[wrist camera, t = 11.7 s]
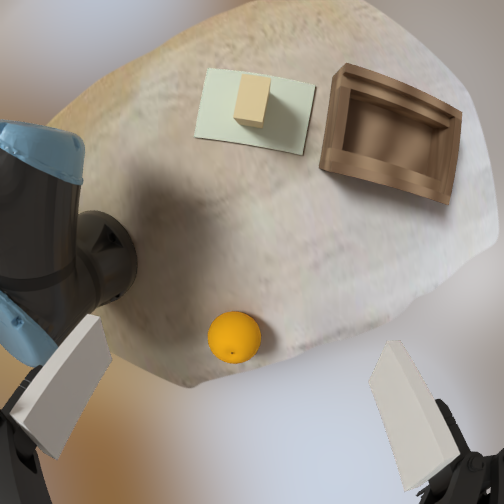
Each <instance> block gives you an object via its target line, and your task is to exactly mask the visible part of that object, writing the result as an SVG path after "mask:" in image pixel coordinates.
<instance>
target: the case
mask: <svg viewBox="0 0 504 504" xmlns="http://www.w3.org/2000/svg"><path fill="white" fill-rule="evenodd" d="M461 123H462V112H461V111H459V110H457V109H456V108H454V107H452V106H450V105H448V104H447V103H445V102H443V101H441V100H439V99H437V98H435V97H433V96H431V95H429V94H427V93H425V92H423V91H421V90H419V89H416V88H414V87H412V86H410V85H407V84H405V83H403V82H400V81H398V80H395V79H393V78H390V77H388V76H385V75H382V74H379V73H377V72H374V71H371V70H368V69H365V68H362V67H359V66H356V65H352V64H349V63H346V64H345V65H344V66H343V67H342V68H341V69H340V70H339V71H338V72H337V73H336V74H335V75H334V76H333V78H332V85H331V93H330V100H329V107H328V114H327V121H326V128H325V134H324V140H323V146H322V152H321V158H320V164H319V168H320V169H323V170H327V171H330V172H334V173H339V174H343V175H347V176H351V177H356V178H360V179H364V180H367V181H371V182H375V183H379V184H382V185H386V186H390V187H393V188H397V189H400V190H403V191H407V192H410V193H413V194H416V195H419V196H423V197H426V198H429V199H432V200H435V201H438V202H440V203H443V204H446V205H449V201H450V197H451V192H452V187H453V182H454V177H455V171H456V165H457V158H458V151H459V143H460V134H461Z"/></svg>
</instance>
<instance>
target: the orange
mask: <svg viewBox="0 0 504 504" xmlns="http://www.w3.org/2000/svg"><path fill="white" fill-rule="evenodd" d="M260 343H261V332H260V329H259V326H258V324H257V323H256V322H255V321H254V319H253V318H251V317H250V316H248V315H247V314H245V313H242V312H235V311H232V312H227V313H223V314H222V315H220V316H218V317H217V318H216V319H215V320H214V321H213V322H212V324H211V325H210V328H209V331H208V344H209V347H210V349H211V351H212V353H213V354H214V355H215V356H216V357H217V358H219V359H220V360H222V361H224V362H227V363H233V364H237V363H243V362H245V361H248V360H249V359H251V358H252V357H253V356H254V355H255V354H256V353H257V351H258V349H259V346H260Z"/></svg>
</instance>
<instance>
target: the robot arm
mask: <svg viewBox="0 0 504 504" xmlns="http://www.w3.org/2000/svg"><path fill="white" fill-rule="evenodd" d="M84 155H85V145H84V142H83V140H82V139H81V138H80V137H79V136H78V135H77V134H75V133H72V132H68V131H65V130H61V129H56V128H52V127H47V126H42V125H37V124H32V123H25V122H18V121H9V120H2V119H0V344H1V345H2V346H3V347H4V348H5V349H6V350H7V351H8V352H9V353H10V354H11V355H12V356H14V357H15V358H16V359H17V360H19V361H20V362H22V363H24V364H25V365H27V366H30V367H34V369H33V370H31V371H30V372H29V374H28V375H27V376H26V377H25V380H23V381H22V382H21V384H20V386H19V387H18V388H17V389H16V390H15V392H14V393H13V395H12V396H11V397H10V399H9V400H8V402H7V403H6V404H5V406H4V407H3V409H1V410H0V504H52V502H51V500H50V496H49V493H48V490H47V487H46V484H45V480H44V477H43V474H42V470H41V467H40V462H39V458H38V454H37V452H36V450H35V449H36V447H37V446H38V447H39V448H40V449H41V450H42V451H43V453H45V454H47V455H49V456H51V457H52V458H54V459H56V460H58V458H59V456H60V454H61V452H62V450H63V448H64V446H65V444H66V442H67V439H68V438H69V436H70V434H71V432H72V430H73V428H74V427H75V425H76V422H77V421H78V419H79V417H80V415H81V413H82V412H83V410H84V408H85V406H86V404H87V402H88V401H89V398H90V397H91V395H92V394H93V392H94V390H95V388H96V386H97V385H98V383H99V381H100V380H101V378H102V376H103V375H104V373H105V371H106V369H107V368H108V366H109V364H110V363H111V361H112V357H111V354H110V351H109V347H108V344H107V341H106V337H105V333H104V330H103V326H102V322H101V318H100V317H99V316H95V315H90V314H91V313H92V312H93V311H94V310H95V309H96V308H97V307H100V306H103V305H105V304H108V303H110V302H113V301H115V300H117V299H119V298H120V297H122V296H123V295H124V294H125V293H126V291H127V290H128V289H129V288H130V287H131V285H132V284H133V282H134V280H135V277H136V273H137V257H136V252H135V248H134V246H133V243H132V241H131V239H130V237H129V235H128V233H127V232H126V230H125V229H124V228H123V227H122V225H121V224H120V223H119V222H118V221H116V220H115V219H114V218H113V217H111V216H109V215H108V214H105V213H103V212H100V211H85V212H83V213H80V214H78V208H79V198H80V189H81V185H82V184H83V178H82V173H83V164H84ZM368 382H369V385H370V387H371V390H372V393H373V396H374V398H375V401H376V404H377V407H378V410H379V412H380V415H381V418H382V420H383V423H384V427H385V430H386V433H387V436H388V439H389V442H390V445H391V447H392V451H393V454H394V457H395V460H396V464H397V467H398V471H399V473H400V477H401V481H402V484H403V488H404V491H408V490H411V489H414V488H417V487H419V486H421V485H422V484H424V483H425V482H427V481H429V485H428V486H426V487H425V488H424V489H422V490H421V491H419V492H418V494H417V495H416V496H419V495H421V494H423V493H424V494H423V495H422V496H421V501H420V503H419V504H504V448H503V449H502V450H501V451H500V452H499V453H498V454H497V455H492V456H485V457H483V456H482V454H480V453H478V452H471V451H470V449H469V447H468V446H467V443H466V441H465V439H464V437H463V435H462V433H461V431H460V429H459V427H458V425H457V424H456V421H455V419H454V417H452V413H451V411H450V409H449V407H448V406H447V405H446V404H445V403H444V402H443V401H442V400H441V399H436V400H434V398H433V396H432V395H431V393H430V391H429V389H428V387H427V385H426V383H425V382H424V380H423V378H422V376H421V375H420V373H419V371H418V369H417V367H416V366H415V364H414V362H413V361H412V359H411V357H410V355H409V354H408V352H407V350H406V349H405V347H404V346H403V344H402V342H401V341H400V340H397V341H387V342H386V344H385V347H384V349H383V352H382V354H381V356H380V358H379V360H378V362H377V365H376V367H375V369H374V371H373V373H372V375H371V377H370V379H369V381H368ZM490 487H491V492H490V493H489V494H487V493H486V490H487V489H489V488H490Z"/></svg>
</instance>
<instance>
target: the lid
mask: <svg viewBox="0 0 504 504" xmlns="http://www.w3.org/2000/svg"><path fill="white" fill-rule="evenodd" d="M314 90H315V85H313V84H309V83H304V82H300V81H295V80H291V79H286V78H281V77H276V76H270V75H264V74H258V73H251V72H243V71H235V70H226V69H214V68H208V69H207V74H206V78H205V83H204V87H203V92H202V97H201V102H200V107H199V112H198V117H197V123H196V128H195V134H194V137H198V138H206V139H214V140H222V141H228V142H235V143H241V144H247V145H253V146H259V147H264V148H270V149H275V150H280V151H285V152H289V153H294V154H299V155H302V153H303V148H304V143H305V138H306V133H307V128H308V122H309V117H310V112H311V106H312V101H313V96H314Z"/></svg>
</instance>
